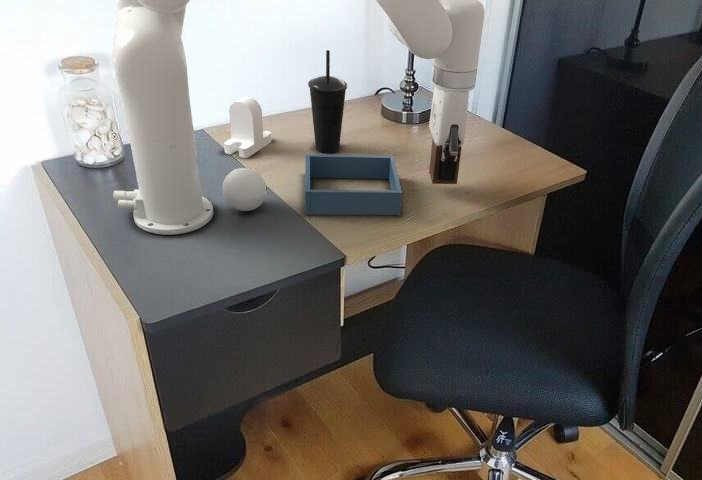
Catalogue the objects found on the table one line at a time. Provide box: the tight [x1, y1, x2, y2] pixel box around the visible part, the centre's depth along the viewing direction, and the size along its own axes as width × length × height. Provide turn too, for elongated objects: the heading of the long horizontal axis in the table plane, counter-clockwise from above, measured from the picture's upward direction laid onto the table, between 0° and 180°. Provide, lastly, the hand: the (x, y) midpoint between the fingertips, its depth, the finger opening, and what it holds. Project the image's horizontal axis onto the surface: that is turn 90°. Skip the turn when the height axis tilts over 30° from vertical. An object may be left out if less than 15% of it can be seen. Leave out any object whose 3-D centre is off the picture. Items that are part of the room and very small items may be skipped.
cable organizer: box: [223, 96, 272, 159], centre depth 130 cm, size 5×10×10 cm, turn 159°
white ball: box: [221, 167, 268, 212], centre depth 112 cm, size 10×7×7 cm
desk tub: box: [304, 154, 403, 216], centre depth 119 cm, size 17×15×4 cm
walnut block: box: [428, 137, 462, 185], centre depth 120 cm, size 5×5×8 cm
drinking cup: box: [307, 49, 348, 154], centre depth 130 cm, size 8×8×20 cm
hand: (443, 171), depth 122 cm, fingers closed on walnut block, 4 cm apart
